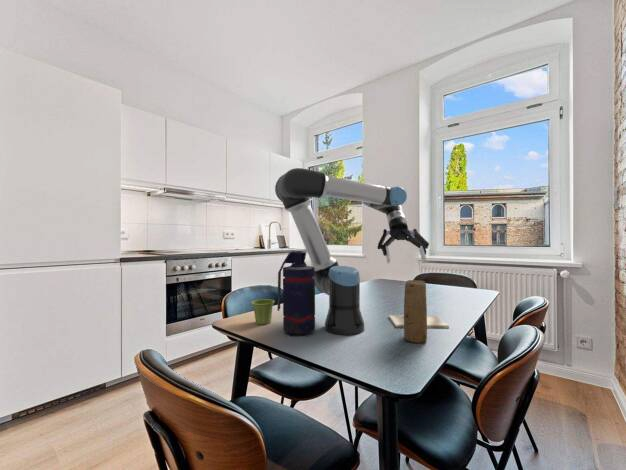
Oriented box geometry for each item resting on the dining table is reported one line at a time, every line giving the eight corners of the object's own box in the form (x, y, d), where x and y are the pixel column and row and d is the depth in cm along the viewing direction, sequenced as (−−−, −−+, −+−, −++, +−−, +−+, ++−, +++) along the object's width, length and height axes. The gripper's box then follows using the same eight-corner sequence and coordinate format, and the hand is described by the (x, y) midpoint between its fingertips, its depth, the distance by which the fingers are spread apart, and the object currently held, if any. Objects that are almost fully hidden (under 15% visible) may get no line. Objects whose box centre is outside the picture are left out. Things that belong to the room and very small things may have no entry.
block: (427, 345, 99) (427, 284, 99) (403, 342, 101) (403, 282, 101) (426, 334, 109) (426, 279, 109) (405, 332, 112) (404, 278, 111)
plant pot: (247, 324, 123) (246, 303, 123) (259, 318, 131) (259, 298, 131) (267, 327, 119) (267, 305, 119) (278, 320, 128) (278, 300, 128)
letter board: (396, 327, 117) (396, 324, 117) (388, 317, 131) (388, 314, 131) (448, 328, 116) (448, 325, 116) (436, 317, 130) (436, 315, 130)
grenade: (315, 326, 119) (315, 250, 119) (314, 337, 107) (314, 252, 107) (280, 326, 120) (279, 250, 119) (275, 337, 108) (275, 252, 107)
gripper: (369, 217, 130) (375, 255, 116) (428, 216, 129) (442, 254, 114) (367, 229, 136) (373, 267, 121) (424, 228, 134) (437, 266, 120)
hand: (406, 261), depth 118 cm, fingers open, 13 cm apart
